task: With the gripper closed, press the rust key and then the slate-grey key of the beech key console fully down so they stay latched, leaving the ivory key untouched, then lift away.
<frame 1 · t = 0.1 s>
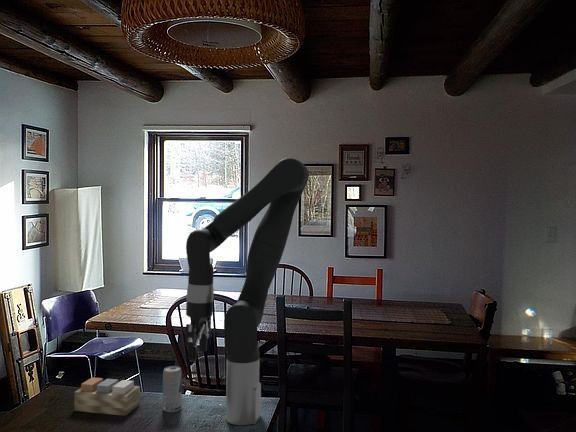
hand: (197, 355, 144), 17 cm above the table, tool pointing down, fingers open, 8 cm apart
energy drink: (172, 409, 148), on the table
slate key: (107, 387, 149), point 6 cm above the table, slide at 0.0 cm
key console: (107, 407, 149), on the table
ivory key: (123, 388, 148), point 6 cm above the table, slide at 0.0 cm
rust key: (92, 386, 150), point 6 cm above the table, slide at 0.0 cm
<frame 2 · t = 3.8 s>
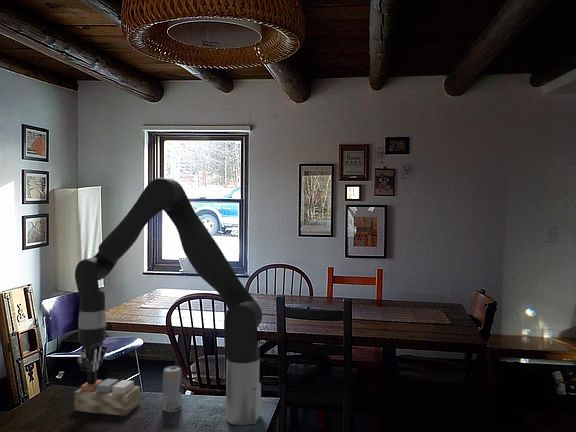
hand: (92, 382, 150), 7 cm above the table, tool pointing down, fingers closed
rust key: (92, 387, 150), point 5 cm above the table, slide at 0.6 cm, touching gripper
everything else where it was.
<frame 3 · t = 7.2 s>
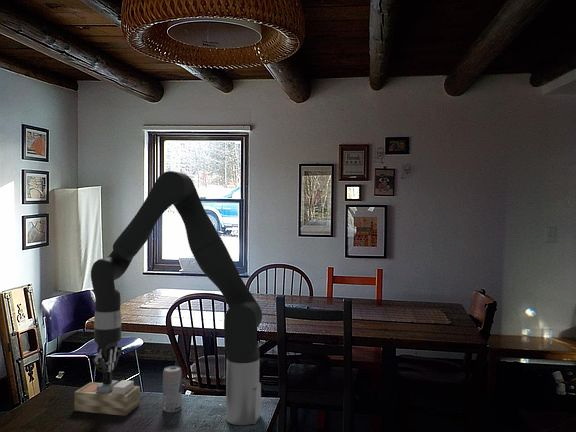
hand: (107, 383, 149), 7 cm above the table, tool pointing down, fingers closed
slate key: (107, 388, 149), point 6 cm above the table, slide at 0.3 cm, touching gripper
rust key: (92, 392, 150), point 4 cm above the table, slide at 2.0 cm
everything else where it was.
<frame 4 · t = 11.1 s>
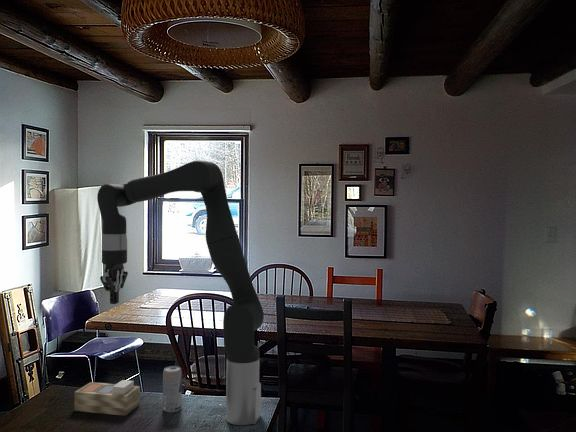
hand: (114, 303, 157), 29 cm above the table, tool pointing down, fingers closed
slate key: (107, 394, 149), point 4 cm above the table, slide at 2.0 cm
everything else where it was.
at the end: rust key slide at 2.0 cm; slate key slide at 2.0 cm; ivory key slide at 0.0 cm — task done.
